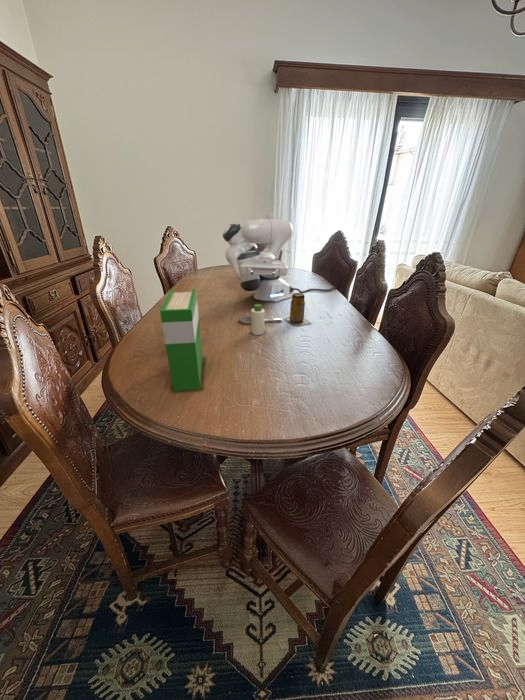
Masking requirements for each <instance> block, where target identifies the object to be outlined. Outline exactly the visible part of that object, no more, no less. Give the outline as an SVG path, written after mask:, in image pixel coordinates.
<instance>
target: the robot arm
mask: <svg viewBox="0 0 525 700" xmlns="http://www.w3.org/2000/svg"><path fill="white" fill-rule="evenodd" d="M293 231H294V228H293V225H292V223H291V221H290V220H287V219H283V218H255V219H250V220H246V221H245V222H244V223H243V225H242V226H241V224H240V223H238V224H236V223H231V224H229V225H227V226H226V227H225V228H224V230H223V233H222V238H223V239H224V241H225V242H227V243H228V244H229V246H227V248H226V249H225V252H224V255H225V259H226V261H227V263H228V264H229V265H230V266H231V268H232V269H233V271H234V273H235V274H236V276H237V278H238V280H239V281H240V288H241V289H242V290H244V291H245V292H254V294H253V299H255V300H257V301H262V302H273V303H274V302H275V303H277V302H280V301H283V300H287V299H291V298H292V295H293V294H294V291H298V293H301V294H304V293H307V292H311V291H320V292H330V291H332V290H333V289H334V290H337V287H336V286H332V287H330V288H329V289H327V288H325V289H324V288H309V289H306V290H301V289H299V288H297V287H293V286H290V285H289V283H288V282H287V281H285V280H284V279H283V278H282V277H287V276H288V264H287V263H286V262H285V260H284V259H281V258H279V257H280V253H281V251H282V249H283V247H284V246H285V244H286V243H287V242H288V241H290V240H291V238H292V236H293ZM257 244H258V245H259V244H266V246H265V248H264V249H263V250H261V251H258V245H257Z"/></svg>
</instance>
